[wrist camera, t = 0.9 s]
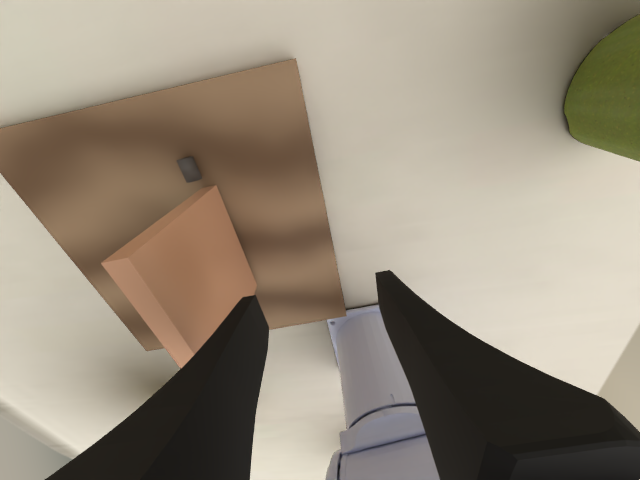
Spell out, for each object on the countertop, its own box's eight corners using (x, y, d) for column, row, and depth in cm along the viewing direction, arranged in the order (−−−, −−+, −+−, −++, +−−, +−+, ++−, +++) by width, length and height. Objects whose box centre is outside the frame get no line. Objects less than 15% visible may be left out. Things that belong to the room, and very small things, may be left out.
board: (345, 308, 24) (348, 324, 22) (152, 342, 25) (140, 360, 23) (296, 61, 14) (294, 54, 13) (-11, 134, 15) (-53, 137, 14)
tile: (257, 285, 20) (224, 398, 12) (243, 287, 20) (201, 401, 12) (216, 184, 16) (128, 257, 8) (198, 188, 16) (95, 264, 8)
